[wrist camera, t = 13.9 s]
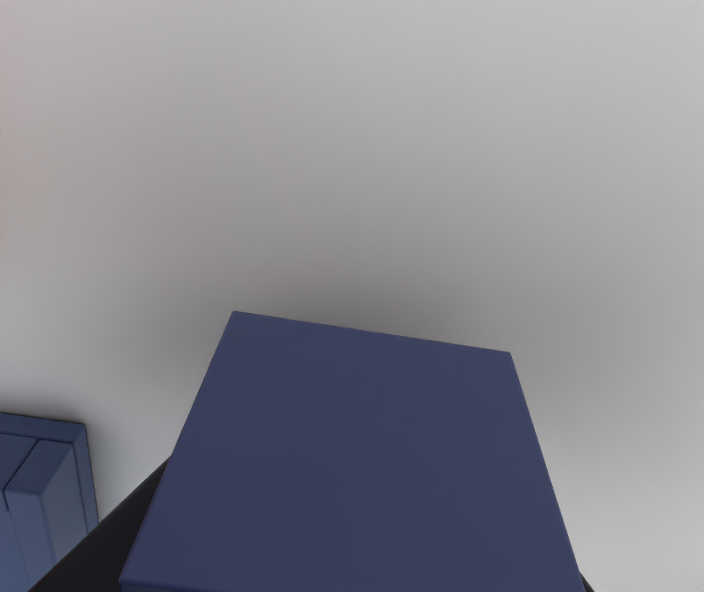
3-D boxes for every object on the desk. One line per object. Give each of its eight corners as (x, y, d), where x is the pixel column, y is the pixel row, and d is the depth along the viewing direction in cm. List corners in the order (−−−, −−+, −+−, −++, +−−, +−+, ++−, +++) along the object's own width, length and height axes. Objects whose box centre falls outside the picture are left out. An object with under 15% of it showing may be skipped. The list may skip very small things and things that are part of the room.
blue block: (511, 351, 9) (604, 646, 5) (445, 526, 11) (477, 819, 8) (232, 309, 9) (115, 581, 5) (224, 495, 11) (141, 777, 7)
